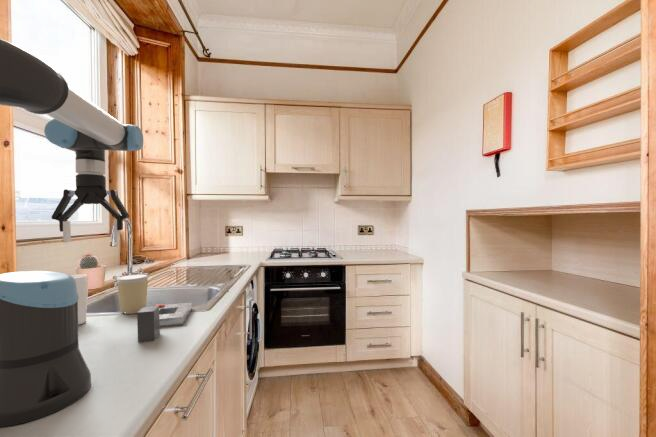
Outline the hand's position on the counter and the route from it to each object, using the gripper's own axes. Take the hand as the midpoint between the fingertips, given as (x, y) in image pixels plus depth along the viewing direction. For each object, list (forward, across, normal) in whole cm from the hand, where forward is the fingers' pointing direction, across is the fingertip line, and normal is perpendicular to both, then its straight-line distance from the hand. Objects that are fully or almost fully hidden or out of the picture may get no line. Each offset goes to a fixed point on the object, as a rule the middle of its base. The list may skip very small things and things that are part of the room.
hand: (92, 241), depth 98 cm
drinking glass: (+26, +5, 0) cm, 26 cm away
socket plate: (+26, -22, +4) cm, 34 cm away
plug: (+26, -21, +20) cm, 39 cm away
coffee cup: (+26, -8, -9) cm, 29 cm away
